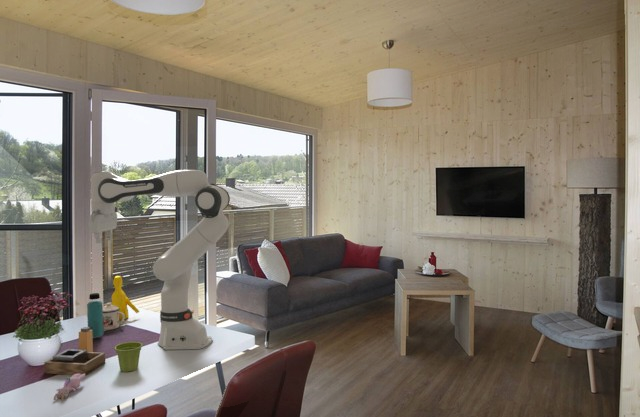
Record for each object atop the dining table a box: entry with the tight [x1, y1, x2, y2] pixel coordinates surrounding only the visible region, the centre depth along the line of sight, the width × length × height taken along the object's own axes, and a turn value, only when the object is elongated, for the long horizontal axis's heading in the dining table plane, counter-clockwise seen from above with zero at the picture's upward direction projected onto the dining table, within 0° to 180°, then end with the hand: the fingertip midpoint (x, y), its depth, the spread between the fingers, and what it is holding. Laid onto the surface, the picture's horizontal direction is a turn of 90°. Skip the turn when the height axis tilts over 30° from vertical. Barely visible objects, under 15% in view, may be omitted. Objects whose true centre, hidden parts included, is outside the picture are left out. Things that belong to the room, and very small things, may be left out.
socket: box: [52, 348, 88, 363], centre depth 177 cm, size 8×8×4 cm
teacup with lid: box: [102, 302, 125, 331], centre depth 226 cm, size 12×9×12 cm
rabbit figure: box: [53, 374, 85, 401], centre depth 157 cm, size 6×6×15 cm
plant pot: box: [114, 341, 143, 373], centre depth 176 cm, size 9×9×9 cm
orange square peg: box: [78, 326, 94, 352], centre depth 189 cm, size 4×4×11 cm
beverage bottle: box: [86, 292, 104, 338], centre depth 210 cm, size 6×7×20 cm
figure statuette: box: [110, 275, 140, 321], centre depth 241 cm, size 18×8×22 cm, turn 85°
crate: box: [43, 351, 106, 377], centre depth 177 cm, size 16×12×4 cm
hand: (103, 241), depth 205 cm, fingers open, 8 cm apart
